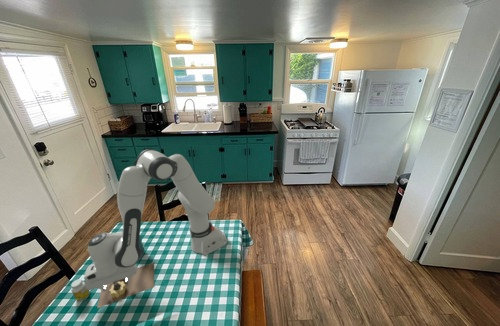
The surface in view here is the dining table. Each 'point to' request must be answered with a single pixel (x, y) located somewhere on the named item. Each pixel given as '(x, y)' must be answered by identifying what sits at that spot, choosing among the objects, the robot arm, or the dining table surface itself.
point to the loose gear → (118, 292)
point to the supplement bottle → (79, 290)
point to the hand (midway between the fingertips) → (116, 285)
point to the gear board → (130, 285)
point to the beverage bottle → (141, 245)
